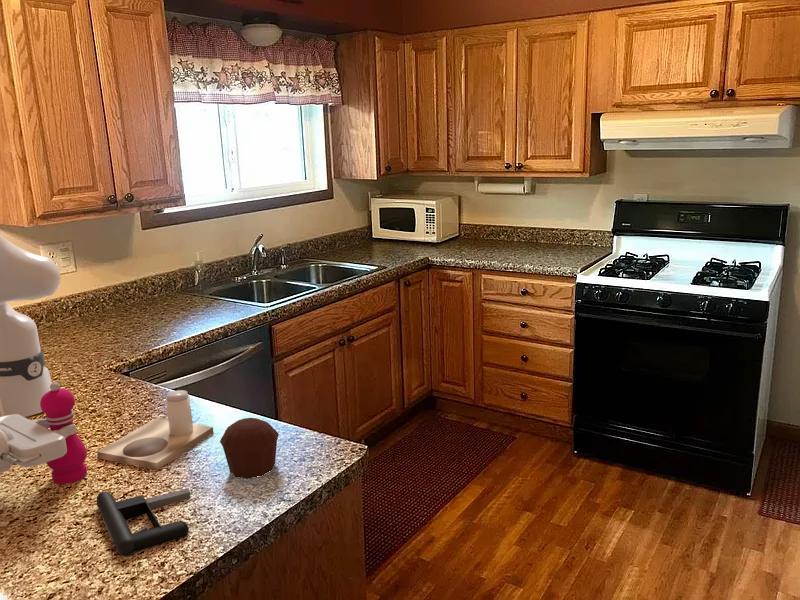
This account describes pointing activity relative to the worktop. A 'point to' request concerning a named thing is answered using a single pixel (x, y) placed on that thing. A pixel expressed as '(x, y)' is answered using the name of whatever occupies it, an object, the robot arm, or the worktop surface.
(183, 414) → the salt shaker
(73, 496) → the worktop surface
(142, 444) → the condiment board
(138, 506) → the door handle
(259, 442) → the muffin
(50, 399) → the pepper mill
